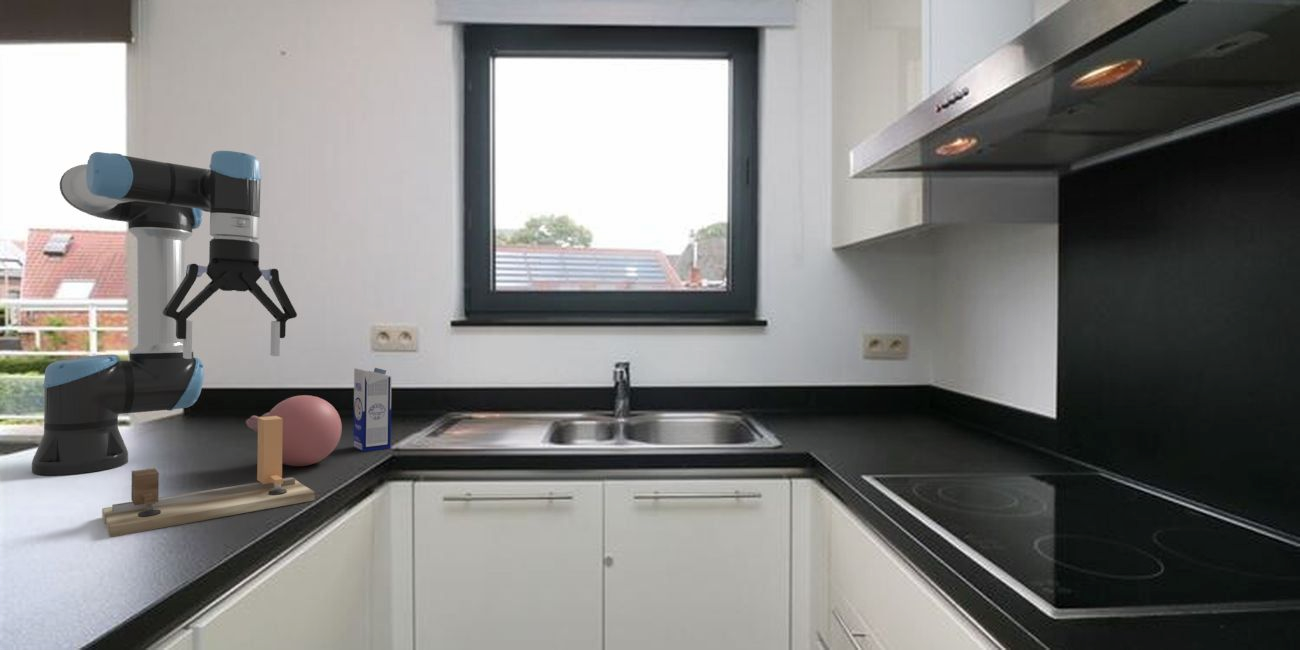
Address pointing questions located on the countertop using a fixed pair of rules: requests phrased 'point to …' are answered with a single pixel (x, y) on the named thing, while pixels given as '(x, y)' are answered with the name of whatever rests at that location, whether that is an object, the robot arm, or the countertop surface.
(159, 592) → the countertop surface
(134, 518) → the wooden slotted board
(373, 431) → the milk carton
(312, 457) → the balloon
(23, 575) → the countertop surface
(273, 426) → the orange wooden block
